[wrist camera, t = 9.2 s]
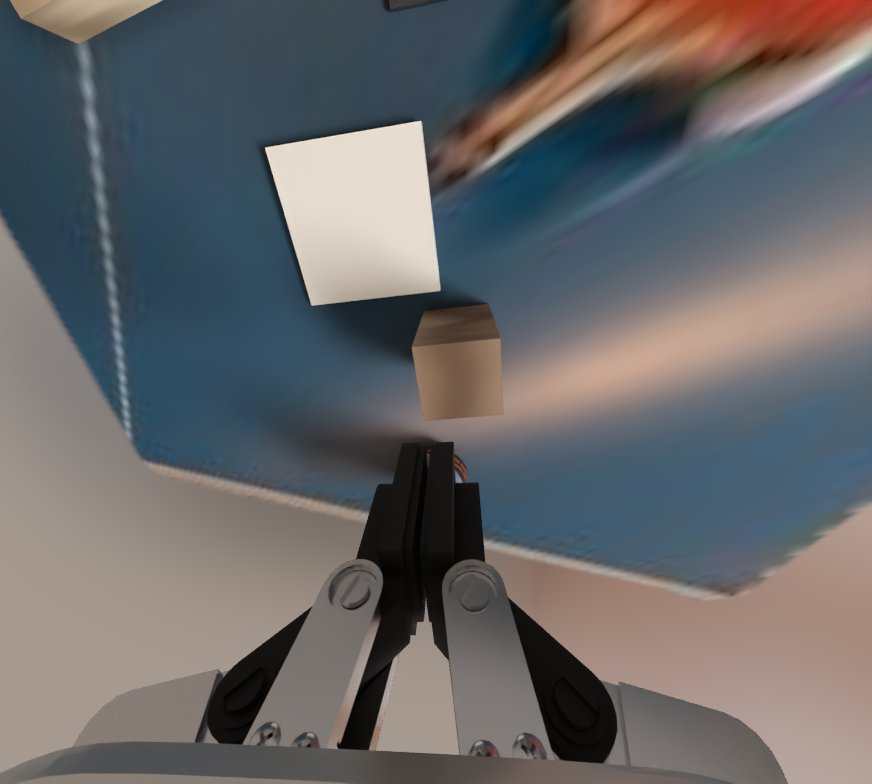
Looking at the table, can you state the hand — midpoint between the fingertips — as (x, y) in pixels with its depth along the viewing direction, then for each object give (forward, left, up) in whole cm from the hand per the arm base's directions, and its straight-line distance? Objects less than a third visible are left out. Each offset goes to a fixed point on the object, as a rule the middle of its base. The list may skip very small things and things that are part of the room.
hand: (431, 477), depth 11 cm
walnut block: (-1, +1, -17) cm, 17 cm away
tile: (+5, -8, -17) cm, 20 cm away
